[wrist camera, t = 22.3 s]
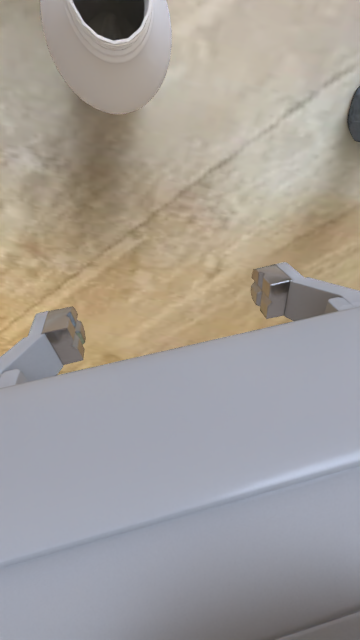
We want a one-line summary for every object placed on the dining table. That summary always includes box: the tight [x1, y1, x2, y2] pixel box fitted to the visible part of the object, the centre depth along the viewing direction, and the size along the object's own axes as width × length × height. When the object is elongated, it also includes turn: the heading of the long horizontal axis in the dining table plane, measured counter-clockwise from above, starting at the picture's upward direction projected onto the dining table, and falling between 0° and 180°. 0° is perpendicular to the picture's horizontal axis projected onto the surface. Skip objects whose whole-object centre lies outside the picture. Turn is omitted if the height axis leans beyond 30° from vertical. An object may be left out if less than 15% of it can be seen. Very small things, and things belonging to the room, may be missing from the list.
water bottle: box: [40, 0, 172, 114], centre depth 18 cm, size 7×7×25 cm
